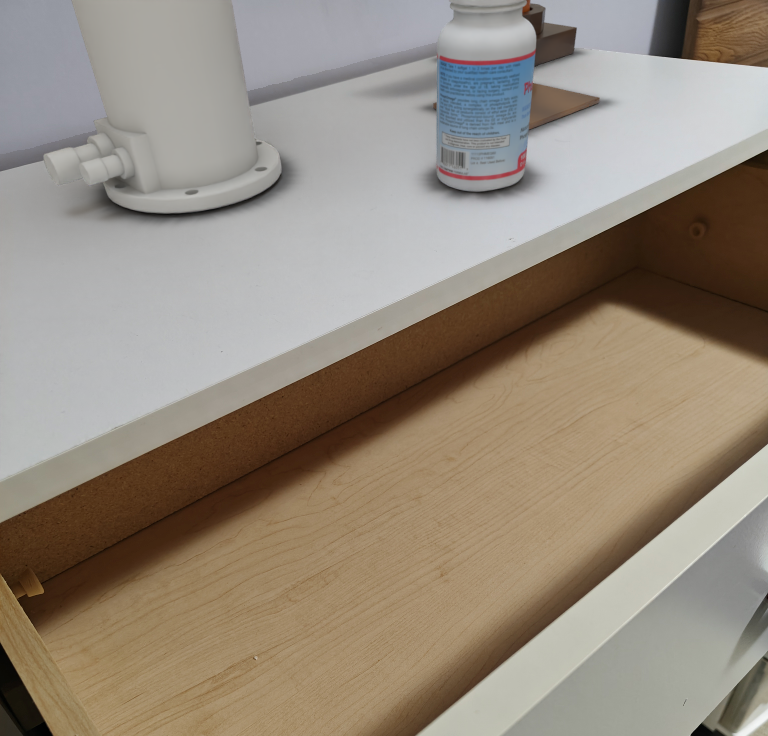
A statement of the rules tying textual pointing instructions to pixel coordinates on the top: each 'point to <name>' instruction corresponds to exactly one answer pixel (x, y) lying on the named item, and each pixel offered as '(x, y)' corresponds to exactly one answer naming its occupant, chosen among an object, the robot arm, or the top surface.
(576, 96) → the coaster
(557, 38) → the button housing
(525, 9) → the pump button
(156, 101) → the robot arm
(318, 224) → the top surface
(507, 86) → the pill bottle
